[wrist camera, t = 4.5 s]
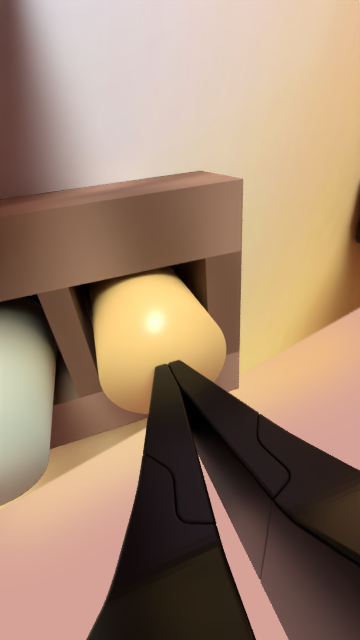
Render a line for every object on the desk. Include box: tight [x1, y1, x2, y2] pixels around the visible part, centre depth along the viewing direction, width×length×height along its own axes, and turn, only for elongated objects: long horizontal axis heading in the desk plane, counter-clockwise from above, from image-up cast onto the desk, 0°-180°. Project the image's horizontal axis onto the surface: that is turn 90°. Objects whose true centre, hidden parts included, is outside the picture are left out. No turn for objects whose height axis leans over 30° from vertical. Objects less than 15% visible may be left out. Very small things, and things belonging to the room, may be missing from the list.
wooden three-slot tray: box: [0, 171, 243, 449], centre depth 12 cm, size 20×10×4 cm, turn 96°
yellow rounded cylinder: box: [89, 266, 226, 414], centre depth 12 cm, size 4×4×6 cm
